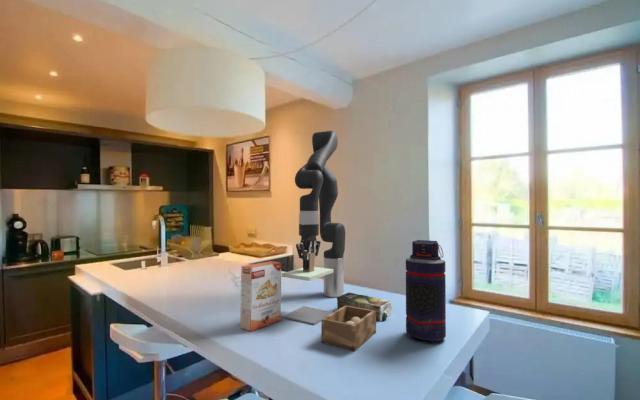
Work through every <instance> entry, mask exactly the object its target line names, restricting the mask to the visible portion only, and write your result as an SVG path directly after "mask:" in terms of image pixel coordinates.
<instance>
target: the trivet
mask: <svg viewBox="0 0 640 400" xmlns="http://www.w3.org/2000/svg"><path fill="white" fill-rule="evenodd" d="M333 312H334V311H330V310H325V309H320V308H315V307H310V306H305V305H304V306H301V307H298V308H297V309H294V310H292V311H290V312H288V313H286V314H284V315H282V316H281V318H282V319H285V320H286V319H287V320H290V321H294V322H300V323H305V324H308V325H312V326H315V325H317V324H320V322H321V323H322V319H323V318H324V317H326V316H328V315H330V314H331V313H333Z"/></svg>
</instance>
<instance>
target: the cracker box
mask: <svg viewBox="0 0 640 400" xmlns="http://www.w3.org/2000/svg"><path fill="white" fill-rule="evenodd" d="M240 271H241V273H240V275H241V276H240V278H241V280H240V316H239V317H240V324H239V327H240V328H241V329H243V330H246V331H249V332H252V331H256V330H259V329H260V328H264V327H266V326H269V325H271V324H274V323H277V322H279V321H281V318H282V316H281V314H282V313H281V311H282V310H281V309H282V308H281V306H282V305H281V304H282V262H280V261H274V260H273V261H270V260H269V261H263V262H259V263H253V264H252V263H251V264H246V265H241V270H240Z"/></svg>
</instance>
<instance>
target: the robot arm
mask: <svg viewBox="0 0 640 400" xmlns="http://www.w3.org/2000/svg"><path fill="white" fill-rule="evenodd" d="M311 142H312V143H311V145H312V150H313V153H311V155H310V156H309V157H308V159H307V162H306V164H304V165H302V167H300V168H299V170H297V172H296V173H295V175H294V176H295V177H294V183H295V186H296V187H297V188H299V189H300V190H301V189H302V190H307V189H308V190H309V189H311V191H310V192H309V193H308V194H303V195H301V196H300V197H299V213H298V236H300V242H299V243H296V245H295V247H296V251H297V254H298V258H299V259H301V260H302V268H303V269H304V270H309V254H310V253H311V252H314V259H316V257H318V255H319V251H320V247H321V241H320V240H317V236H320V238H321V240H322V242H324V243H332V245H331V248H328V249H327V250H324V251H323V268H327V269H334V272H333V273H330V274H327V275H325V276H323V295H324V297H329V298H337V297H339V296H342V295H344V294H345V286H344V285H345V284H344V283H345V280H344V279H345V274H344V256H345V255H344V254H345V248H346V228H345V226H344V224H343V223H340V222H332V217H331V216H332V211H333V207H334V206H335V203H336V201H337V199H338V195H339V189H338V179H337V178H336V176H335V174H334V173H333V172H332V171H331V170H330V168H329V167H328V165H327V164H326V163H327V161H328V160H329V159H330V158H331V157H332V155H333V154H334V153H335V151H336V150H337V148H338V145H339V143H338V142H339V141H338V135H337V133H336V132H335V131H334V130H326V131H318V132H317V131H316V132H314V133H313V134H312V136H311ZM305 253H306V254H305Z"/></svg>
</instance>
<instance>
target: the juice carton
mask: <svg viewBox="0 0 640 400" xmlns="http://www.w3.org/2000/svg"><path fill="white" fill-rule="evenodd" d="M336 300H337V301H336V302H337V303H336V305H337V308H336V309H337V310H338V309H340V308H342V307H344V306H345V305H347V306H352V307H358V308H364V309H369V310H375V311H376V321H379V322H383V321H385V320H386V319H387V318H389V317H390V316H392V315H391V314H392V311H393V310H392V309H393V306H392V305H393V304H392V303H393V302H392V301H391V300H387V299H384V298H383V299H382V298H378V297H376V296H375V297H373V296H370V295H369V296H368V295H365V294H357V293H354V292H347V293H343V295H342V296H339V297H336Z"/></svg>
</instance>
